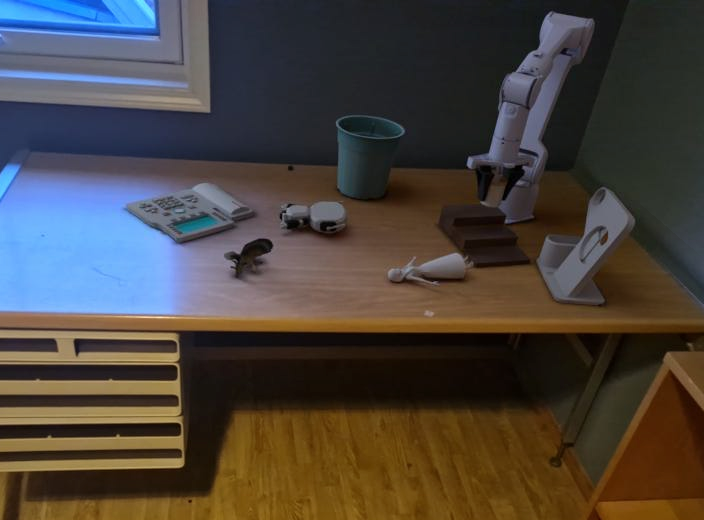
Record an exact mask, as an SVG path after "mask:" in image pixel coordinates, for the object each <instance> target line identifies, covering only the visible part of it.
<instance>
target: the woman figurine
mask: <svg viewBox="0 0 704 520" xmlns="http://www.w3.org/2000/svg"><path fill="white" fill-rule="evenodd" d="M417 257H418V256H417V255H415V256H413V257H412V260H411V261H410V262H408V263H407V265H405V266H404V267H402V269H401V268H391V269H390V270H388V272H387V277H388V279H389V280H390V281H392V282H394V283H398V282H399V283H400V282H402V281H403V280H404V278H405V279H406V280H408V281H415V282H416V281H417V282H420V283H422V284H423V283H425V284H428V285H432V286H434V287H441V284H440V283H438V282H437V281H433V282H432V281H430V280H426V279H424V278H422V277H417V276H418V275H421V276H423V277H425V278H428V279H429V278H430V279H441V280H442V279H443V280H450V279H452V280H457V279H464V278H465V275H466V271H468V270H471V269H473V267H474V265H473V261H472V262H471V261H470V263H469V264H468V265H466V264H467V263H468V261H469V259H468V256H467V257H466V256H465V258H463V257H462V255H461V254H460V253H458V252H454V253H450V254H447V255H443V256H441V257H438V258H435V259H432V260H430V261H427V262H425V263H423V264H421V265H419V266H415V265H414V262H415V260H416V259H417Z"/></svg>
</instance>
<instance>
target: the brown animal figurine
mask: <svg viewBox="0 0 704 520" xmlns="http://www.w3.org/2000/svg"><path fill="white" fill-rule="evenodd" d="M273 248H274V244H273V241H272V240H271V239H269V238H265V237H261V238H260V237H259V238H257V239H254V240H252V241H249V242H248V243H245V244H244V246H243V247H242V249H241V251H240V252H239V253H237V252H236V251H233V250H231V251H227V252H225V253H223V257H224V259H225V260H227V261H230V262H233V264H234V265H231V266H230V269H233V270H235V274H234V278H237V277H238V276H240V275H241V274H242V271H243V270H245V269H249V270H251V271H252V272H254V273H255V274H258V268H257V266H256V265H255V264H254V263H253V262H259V263H264V260H262V259H261V258H259V257H262V256H263V255H268V254H269V253H271V252H272V249H273Z"/></svg>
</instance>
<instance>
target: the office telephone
mask: <svg viewBox="0 0 704 520" xmlns="http://www.w3.org/2000/svg"><path fill="white" fill-rule="evenodd" d="M125 207H126V208H125V209H126V210H127V211H128V212H130V213H131V214H132V215H134V216H135V217H137V218H138V219H140V220H141V221H143V222H144V223H145V224H147V225H148V226H150V227H152V228H157V229H159V230H161V231H162V232H164V233H165V234H167V235H168V236H169V237H171V238H172V239H174V240H175V242H176V243H182V242H183V243H184V242H187V241H190V240H193V239H194V240H195V239H197V238H201V237H205V236H207V235H212V234H215V233H218V232H221V231H225V230H227V229H228V230H229V229H231V228H234V226H235V222H236V221H240V220H243V219H247V218H251V217H253V216H254V215H253V214H254V210H253V209H252V208H250V206H248V205H246V204H245V203H243V202H241V201H239V199H237V198H236V197H234V196H233V195H231V194H229V193H228V192H226V191H224V190H223V189H222V188H220V187H219V186H217V185H216V184H214V183H208V182H202V183H198V184H196V185H195V186H193V187H192V188H188V189H183V190H180V191H175V192H171V193H166V194H163V195H158V196H154V197H150V198H146V199H142V200H137V201H131V202H128V203H125Z"/></svg>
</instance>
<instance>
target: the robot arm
mask: <svg viewBox="0 0 704 520" xmlns="http://www.w3.org/2000/svg"><path fill="white" fill-rule="evenodd" d="M595 26H596V24H595V20H594V18H585V17H579V16H574V15H569V14H564V13H559V12H555V11H550V12H549V13H547V14H546V16H545V17H544V19H543V21H542V24H541V27H540V30H539V31H540V32H539V46H538V48H537V49H536V50H535V49H534V50H533V51H530V52H529V53H528V54H527V55H526V57H525V58H524V60H522V62H521V64H520V65H519V67H517V69H516V70H515V71H513V72H511V73H507V75H505V77H504V79H503V82H502V84H501V87H500V91H499V100H498V101H499V102H498V107H497V111H498V115H497V116H498V117H497V120H496V123H495V128H494V132H493V135H492V139H491V143H490V148H489V151H488V152H487V153H483V154H479V155H473V156H468V158H467V163H466V167H467V168H469V169H470V170H474V172H475V177H476V183H477V199H478V201H479V202H480V201H482V202H484V201H485V199H486V196H487V192H488V189H489V186H490V184H491V181H492V180H493V178H494V176H495V174H497V175H501V176H504V177H506V178H507V179H508V183H507V185H506V187H505V191H504V194H503V198H502V201H501V205H500V206H499V207H498V208H499V209H500V210H501V211H502V212H503V213H505V214H506V215H507V216H506V219H505V223H504V224H505V225H510V224H515V223H518V222H519V223H520V222H523V221H528V220H532V219H535V215H533V213H534V210H535V207H536V204H537V200H538V196H539V194H540V187H539V181H540V180H541V178H542V176H543V174H544V171H545V168H546V164H547V160H548V158H549V151H548V149H547V147H546V146H545V145H544V143H543V142H542V139H543V136H544V135H545V131H546V129H547V126H548V124H549V121H550V118H551V116H552V114H553V111H554V109H555V105H556V103H557V101H558V98H559V95H560V93H561V91H562V87H563V85H564V83H565V80H566V78H567V76H568V74H569V72H570V70H571V69H572V67H573V66H575V65H580V64H581V63H582V61H583V59H584V57H586V56H585V55H586V53H587V51H588V48H589V46H590V43H591V40H592V37H593V34H594V31H595ZM492 168H495V170H496V173H494V172H493V169H492Z"/></svg>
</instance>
